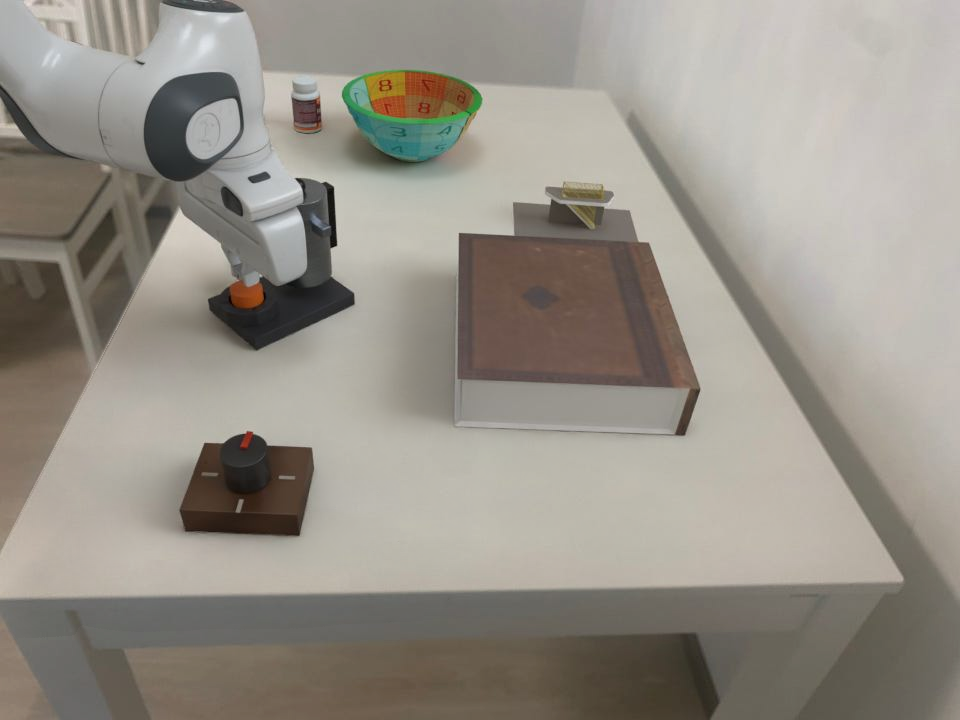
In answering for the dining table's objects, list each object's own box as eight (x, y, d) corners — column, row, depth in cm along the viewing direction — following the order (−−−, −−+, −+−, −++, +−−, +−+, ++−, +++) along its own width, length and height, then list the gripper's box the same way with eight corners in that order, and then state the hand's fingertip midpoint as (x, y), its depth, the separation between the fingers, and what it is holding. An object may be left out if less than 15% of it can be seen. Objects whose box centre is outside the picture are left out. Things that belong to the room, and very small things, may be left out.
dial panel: (184, 532, 67) (178, 509, 65) (209, 463, 74) (204, 440, 72) (299, 537, 68) (296, 514, 66) (314, 467, 74) (312, 445, 72)
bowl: (316, 148, 127) (312, 88, 121) (413, 115, 141) (414, 59, 134) (409, 197, 117) (410, 135, 110) (505, 156, 130) (511, 98, 124)
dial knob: (264, 495, 67) (259, 466, 65) (219, 491, 67) (212, 461, 65) (276, 462, 70) (272, 432, 68) (233, 457, 70) (227, 428, 68)
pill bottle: (324, 132, 132) (322, 84, 127) (297, 135, 131) (293, 86, 125) (318, 121, 136) (315, 73, 130) (291, 123, 134) (287, 75, 129)
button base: (250, 353, 86) (246, 328, 84) (203, 312, 91) (199, 288, 89) (354, 304, 95) (354, 280, 93) (306, 269, 100) (304, 246, 98)
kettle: (308, 301, 89) (299, 205, 81) (267, 271, 93) (255, 176, 85) (360, 278, 93) (357, 184, 85) (319, 250, 97) (312, 157, 89)
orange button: (242, 313, 87) (240, 300, 86) (225, 299, 89) (223, 286, 88) (270, 301, 89) (268, 289, 88) (252, 287, 91) (250, 275, 90)
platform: (641, 251, 109) (651, 210, 105) (515, 242, 109) (520, 201, 104) (629, 210, 119) (638, 171, 114) (513, 202, 118) (517, 162, 114)
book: (638, 284, 103) (649, 242, 98) (685, 435, 81) (700, 389, 77) (456, 276, 101) (458, 232, 97) (454, 426, 80) (457, 379, 76)
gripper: (149, 139, 82) (173, 251, 90) (256, 215, 71) (272, 332, 80) (203, 125, 85) (221, 233, 94) (313, 195, 75) (322, 309, 84)
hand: (246, 279), depth 87 cm, fingers closed
